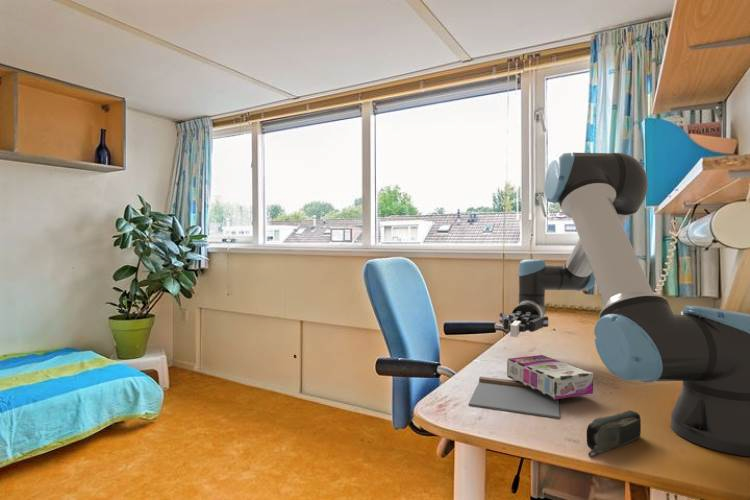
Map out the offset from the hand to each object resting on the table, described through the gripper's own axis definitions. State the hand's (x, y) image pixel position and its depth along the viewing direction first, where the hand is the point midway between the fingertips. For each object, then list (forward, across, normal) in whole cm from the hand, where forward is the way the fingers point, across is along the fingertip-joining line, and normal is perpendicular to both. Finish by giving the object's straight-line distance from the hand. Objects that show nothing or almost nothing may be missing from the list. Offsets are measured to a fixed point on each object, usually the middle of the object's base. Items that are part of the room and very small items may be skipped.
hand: (513, 331), depth 101 cm
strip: (-2, -1, -14) cm, 14 cm away
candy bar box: (-8, -1, -10) cm, 14 cm away
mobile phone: (+20, -20, -14) cm, 32 cm away
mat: (+6, -1, -14) cm, 15 cm away
